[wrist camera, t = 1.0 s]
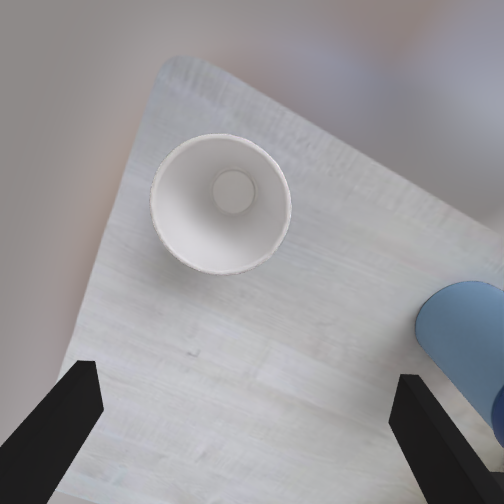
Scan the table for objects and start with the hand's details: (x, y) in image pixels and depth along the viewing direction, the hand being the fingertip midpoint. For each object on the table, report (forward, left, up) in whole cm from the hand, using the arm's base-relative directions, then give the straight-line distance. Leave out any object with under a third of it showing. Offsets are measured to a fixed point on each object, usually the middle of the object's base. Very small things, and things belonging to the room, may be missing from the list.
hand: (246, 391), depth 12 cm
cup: (-5, -4, -21) cm, 22 cm away
